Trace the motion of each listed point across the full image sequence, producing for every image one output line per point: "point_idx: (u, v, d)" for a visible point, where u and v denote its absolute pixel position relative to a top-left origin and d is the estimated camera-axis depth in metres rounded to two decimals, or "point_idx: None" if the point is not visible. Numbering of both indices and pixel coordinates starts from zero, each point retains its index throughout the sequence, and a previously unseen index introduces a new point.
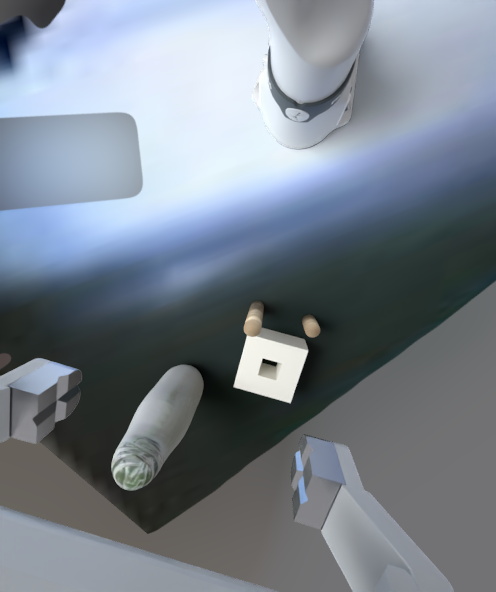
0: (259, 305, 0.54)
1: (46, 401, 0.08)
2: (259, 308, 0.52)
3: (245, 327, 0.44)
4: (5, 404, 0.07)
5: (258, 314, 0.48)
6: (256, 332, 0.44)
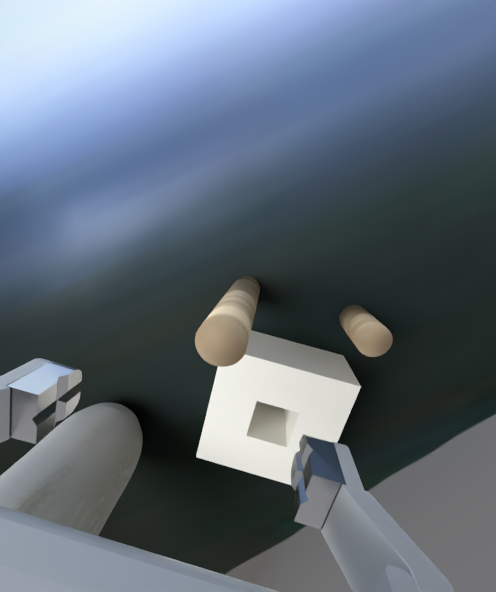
0: (249, 284, 0.24)
1: (46, 401, 0.08)
2: (248, 289, 0.22)
3: (199, 339, 0.15)
4: (5, 404, 0.07)
5: (243, 301, 0.18)
6: (233, 354, 0.15)
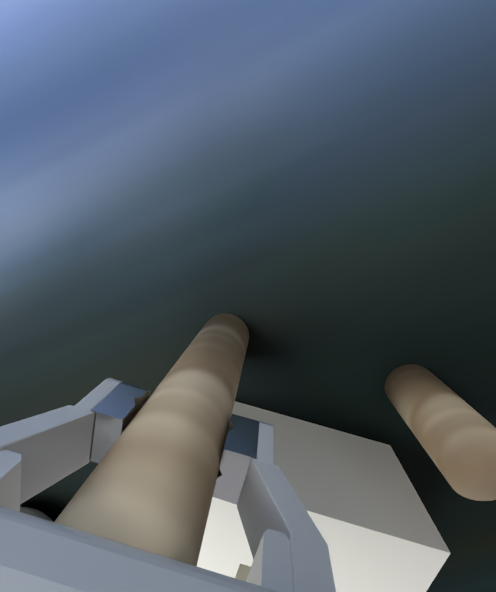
0: (226, 338, 0.13)
1: (126, 424, 0.08)
2: (219, 358, 0.11)
3: None
4: (89, 429, 0.07)
5: (189, 431, 0.07)
6: None
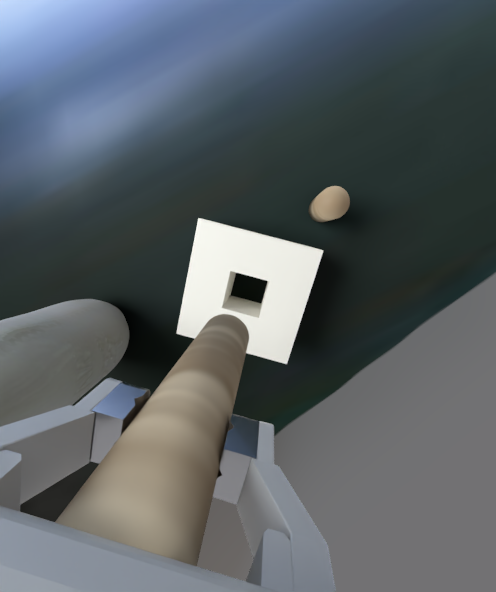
0: (225, 339, 0.13)
1: (126, 424, 0.08)
2: (219, 360, 0.11)
3: None
4: (89, 429, 0.07)
5: (189, 433, 0.07)
6: None
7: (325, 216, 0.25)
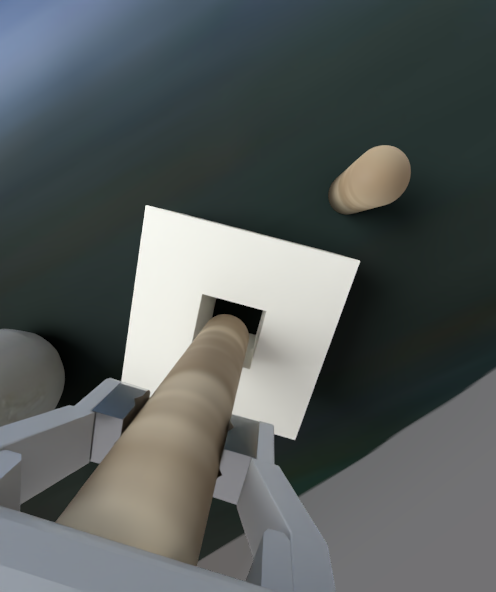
0: (225, 339, 0.13)
1: (126, 424, 0.08)
2: (219, 360, 0.11)
3: None
4: (89, 429, 0.07)
5: (189, 433, 0.07)
6: None
7: (365, 201, 0.14)
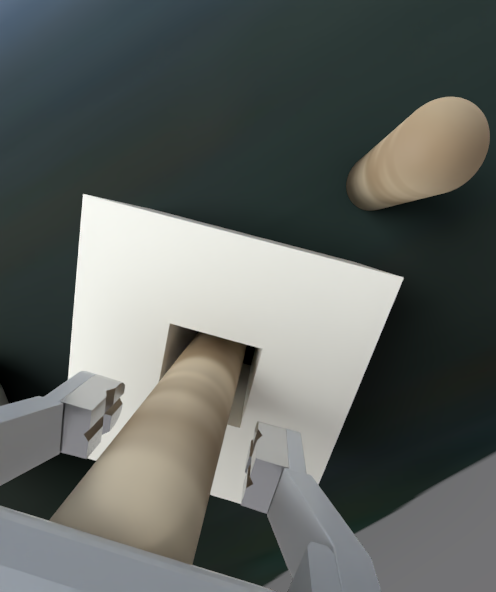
0: None
1: (97, 416, 0.08)
2: (222, 348, 0.12)
3: None
4: (58, 420, 0.07)
5: (197, 406, 0.08)
6: None
7: (415, 186, 0.09)
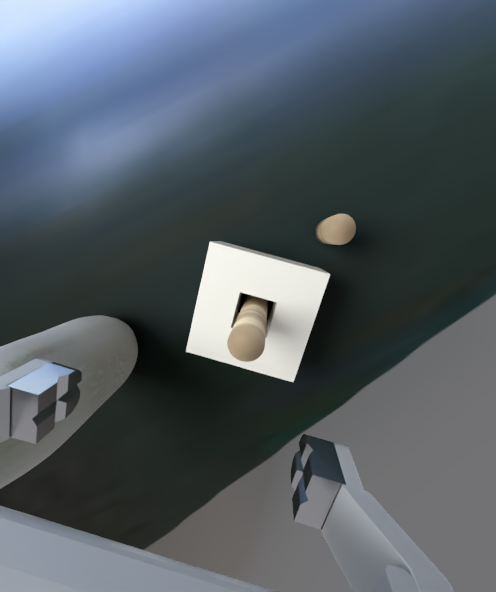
0: (260, 298, 0.30)
1: (46, 401, 0.08)
2: (260, 303, 0.28)
3: (230, 341, 0.20)
4: (5, 404, 0.07)
5: (259, 314, 0.24)
6: (254, 352, 0.20)
7: (332, 242, 0.26)
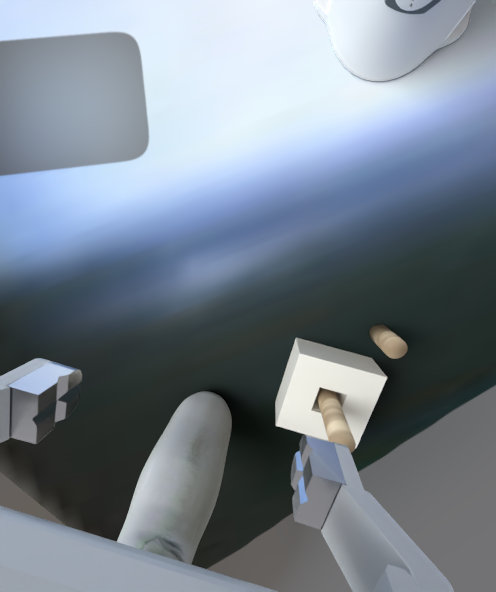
0: None
1: (46, 401, 0.08)
2: (334, 394, 0.38)
3: None
4: (5, 404, 0.07)
5: (341, 412, 0.35)
6: None
7: (389, 356, 0.36)
